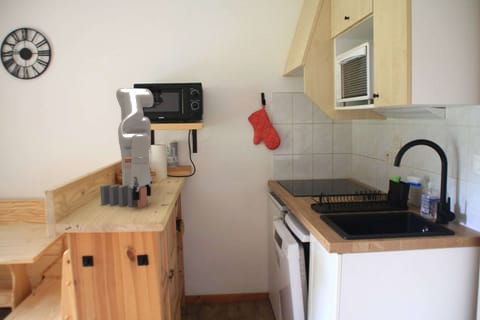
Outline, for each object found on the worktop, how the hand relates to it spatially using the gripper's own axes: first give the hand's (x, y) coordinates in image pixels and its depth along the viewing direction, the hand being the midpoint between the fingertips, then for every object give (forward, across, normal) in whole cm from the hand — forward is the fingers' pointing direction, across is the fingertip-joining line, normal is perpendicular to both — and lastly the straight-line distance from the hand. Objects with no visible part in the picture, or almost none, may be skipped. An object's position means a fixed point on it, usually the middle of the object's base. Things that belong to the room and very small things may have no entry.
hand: (142, 197), depth 169 cm
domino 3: (+4, 0, -10) cm, 11 cm away
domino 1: (+4, 0, -20) cm, 20 cm away
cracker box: (+4, -22, -18) cm, 29 cm away
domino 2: (+4, 0, -15) cm, 16 cm away
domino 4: (+4, 0, -5) cm, 6 cm away
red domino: (+4, 0, 0) cm, 4 cm away
